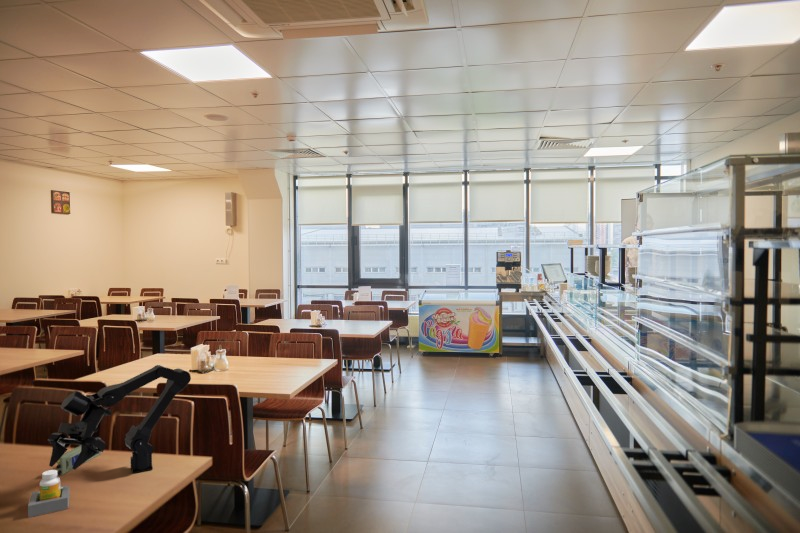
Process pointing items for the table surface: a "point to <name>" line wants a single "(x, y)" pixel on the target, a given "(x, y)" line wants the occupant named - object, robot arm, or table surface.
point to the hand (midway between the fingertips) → (61, 467)
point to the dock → (48, 503)
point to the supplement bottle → (50, 485)
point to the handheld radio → (70, 460)
